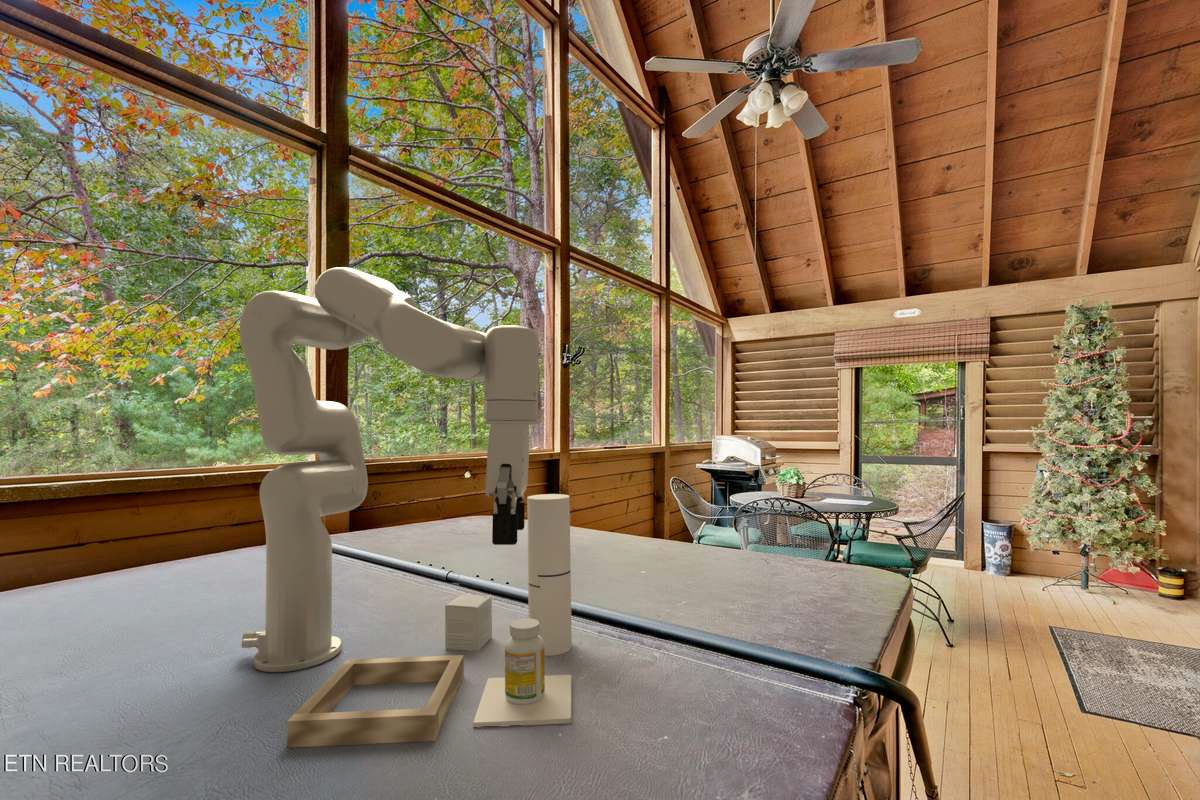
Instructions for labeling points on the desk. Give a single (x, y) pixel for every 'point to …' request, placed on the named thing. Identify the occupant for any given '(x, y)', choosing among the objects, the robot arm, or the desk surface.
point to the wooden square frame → (377, 726)
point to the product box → (468, 622)
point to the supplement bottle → (524, 662)
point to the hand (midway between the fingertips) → (509, 536)
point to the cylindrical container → (550, 570)
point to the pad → (525, 705)
